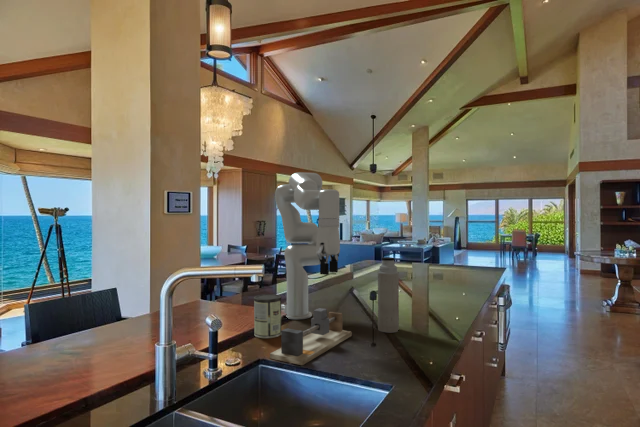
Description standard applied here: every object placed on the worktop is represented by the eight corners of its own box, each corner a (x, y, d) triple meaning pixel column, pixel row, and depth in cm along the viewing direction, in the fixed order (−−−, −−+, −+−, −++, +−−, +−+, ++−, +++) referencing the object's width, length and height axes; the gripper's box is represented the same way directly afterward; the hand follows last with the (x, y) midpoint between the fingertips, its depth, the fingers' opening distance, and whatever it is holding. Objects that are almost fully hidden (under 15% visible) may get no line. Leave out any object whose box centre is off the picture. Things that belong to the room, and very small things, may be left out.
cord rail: (269, 358, 124) (269, 330, 124) (323, 331, 154) (323, 308, 154) (302, 365, 118) (302, 336, 118) (351, 335, 148) (351, 312, 148)
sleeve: (311, 333, 139) (311, 310, 139) (316, 330, 143) (316, 307, 143) (323, 335, 137) (323, 311, 137) (329, 332, 140) (329, 309, 140)
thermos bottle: (398, 327, 159) (398, 256, 159) (398, 333, 151) (398, 258, 151) (378, 326, 160) (378, 256, 160) (377, 332, 152) (377, 258, 153)
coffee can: (261, 329, 156) (261, 293, 156) (286, 331, 153) (286, 294, 153) (248, 336, 146) (248, 298, 147) (274, 339, 143) (274, 300, 143)
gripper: (331, 223, 155) (331, 269, 155) (307, 223, 140) (307, 275, 140) (348, 223, 151) (348, 271, 151) (326, 224, 136) (326, 277, 136)
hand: (329, 272), depth 145 cm, fingers open, 6 cm apart
